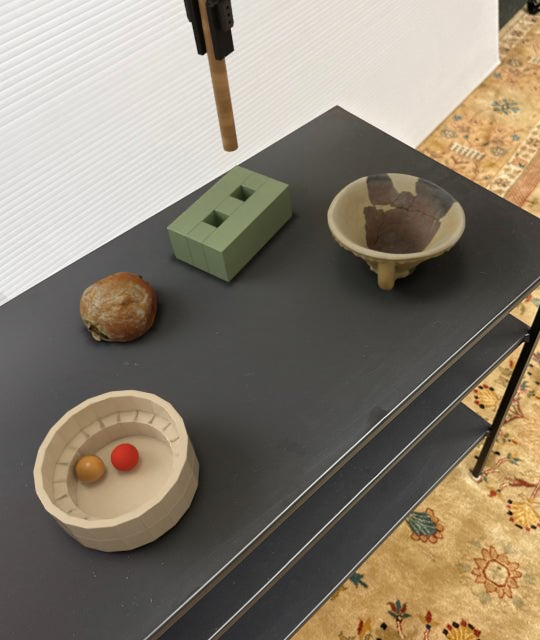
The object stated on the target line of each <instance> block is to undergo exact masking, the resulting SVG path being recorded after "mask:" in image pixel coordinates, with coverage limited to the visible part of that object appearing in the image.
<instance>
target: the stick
mask: <svg viewBox="0 0 540 640" xmlns="http://www.w3.org/2000/svg"><path fill="white" fill-rule="evenodd" d="M198 3H199V9H200V15H201V21H202V27H203V33H204V39H205V44H206V50H207V53H206V54H207V55H206V56H207V61H208V67H209V72H210V78H211V85H212V90H213V95H214V96H213V97H214V102H215V108H216V114H217V120H218V125H219V131H220V138H221V143H222V149H223V150H224V151H225V152H228V153H231V152H232V153H233V152H235V151H237V150H238V148H239V142H238V136H237V135H238V134H237V129H236V122H235V116H234V109H233V103H232V97H231V89H230V83H229V75H228V69H227V63H226V57H225V58H224V59H223V60H221V61H219V60H215V55H214V49H213V44H212V38H211V33H210V27H209V22H208V16H207V11H206V6H205V3H206V0H198Z"/></svg>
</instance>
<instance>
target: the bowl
mask: <svg viewBox="0 0 540 640" xmlns="http://www.w3.org/2000/svg"><path fill="white" fill-rule="evenodd" d="M326 214H327V224H328V227H329V231H330V232H331V235H332V237H333V238H334V240H335V242H337V243H338V244H339V246H340V247H341V248H343V249H344V250H346V251H349V252H351V253H352V254H353V255H354V256H355V257H357V258H358V257H359V258H361V259H362V260H364V261H365V262H366V264H367V265H368V266H369V270H370V271H372V272H374V273H375V274H377V284H378V287H379V288H380V289H381V290H383V291H390V290H392V289H393V288H394V286H395V283H396V282H395V281H396V280H397V279H402V278H403V279H404V278H406V277H408V276H410V275H412V274H413V273H414V271H415V270H416V269H417V267H418V265H420V264H421V263H423V262H425V261H427V260H429V259H433V258H437V257H439V256H442V255H443V254H444V253H445V252H449V251H450V250H451V248H453V247H454V246H455V245H456V244H457V242H458V241H459V240H460V239H461V237H462V236H463V233H464V231H465V229H466V215H465V211H464V209H463V207H462V205H461V204H460V202H459V201H458V200H457V199H456V198H455V197H454V196H453V195H452V194H451V193H450V192H449V191H447V190H446V189H444V188H443V187H442V186H440V185H439V184H436V183H434V182H432V181H431V180H428V179H425V178H422V177H417V176H414V175H410V174H405V173H395V172H394V173H392V172H390V173H389V172H388V173H387V172H386V173H377V174H371V175H365V176H363V177H360V178H358V179H356V180H354V181H352V182H350V183H349V184H347V185H346V186H345V187H343V188H342V189H341V190H340V191H339V192H338V193H337V194H336V195H335V197H334V198H333V199H332V201H331V203H330V205H329V208H328V209H327V213H326Z"/></svg>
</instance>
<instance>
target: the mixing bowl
mask: <svg viewBox="0 0 540 640" xmlns="http://www.w3.org/2000/svg"><path fill="white" fill-rule="evenodd" d="M123 443H128V444H131V445H133V446H134V447H136V449H137V450H138V453H139V460H138V463H137V464H136V466H135V467H134V468H132V469H131V470H128V471H120V470H118V469H116V468H115V467H114V466H113V465H112V463H111V453H112V451H113V450H114V448H115V447H116V446H118V445H120V444H123ZM194 446H195V445H194V444H193V441H192V439H191V436H190V433H189V431H188V429H187V426H186V424H185V421H184V419H183V418H182V416H181V415H180V413H178V411H177V410H176V409H175V407H174V406H173V404H171V403H170V402H168V401H167V400H165V399H163V398H161V397H159V396H158V395H156V394H155V393H149V392H147V391H141V390H136V389H126V390H115V391H108V392H104V393H102V394H99V395H97V396H93V397H90V398H87V399H86V400H84V401H82V402H80V403H79V404H78V405H76V406H75V407H73V408H70V410H68V411H67V412H65V414H64V415H63V416H61V418H60V419H59V420H58V421H57V422H56V423H55V424H54V425H53V426H52V427H51V428H50V429H49V430H48V432H47V434H46V436H45V437H44V439H43V441H42V443H41V444H40V446H39V447H38V450H37V454H36V459H35V463H34V466H33V467H34V468H33V479H34V480H33V481H34V487H35V493H36V496H37V497H38V498H39V501H40V502H41V504H42V506H43V507H44V510H45V511H46V512H47V513H48V514H49V515H50V517H52V519H54V521H55V522H56V523H57V524H58V525H59V526H60V527H61V528H62V530H64V532H65V533H66V534H67V535H68V536H70V537H71V538H72V539H73V540H75V541H77V542H78V543H79V544H80V545H82V546H83V547H86V548H90V549H93V550H98V551H100V552H106V553H112V552H122V551H132V550H134V549H137V548H140V547H142V546H144V545H147V544H149V543H153V542H155V541H156V540H158V538H160V537H161V536H163V535H164V534H165V533H167V532H168V531H169V530H171V529H172V528H174V526H176V524H177V523H178V522H179V521H180V519H181V518H182V517H183V516H184V514H185V513H186V512H187V510H188V509H190V507H191V504H192V502H193V499H194V497H195V494H196V492H197V489H198V487H199V476H200V475H199V473H200V462H199V459H198V455H197V453H196V449H195V447H194ZM86 455H96V456H98V457H100V458H101V459H102V461H103V463H104V467H105V468H104V473H103V475H102V476H101V478H100V479H98V480H97V481H95V482H91V483H86V482H83V481H81V480H80V479H79V478H78V477H77V475H76V471H75V469H76V464H77V462H78V461H79V460H80V459H81V458H82V457H84V456H86Z"/></svg>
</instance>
